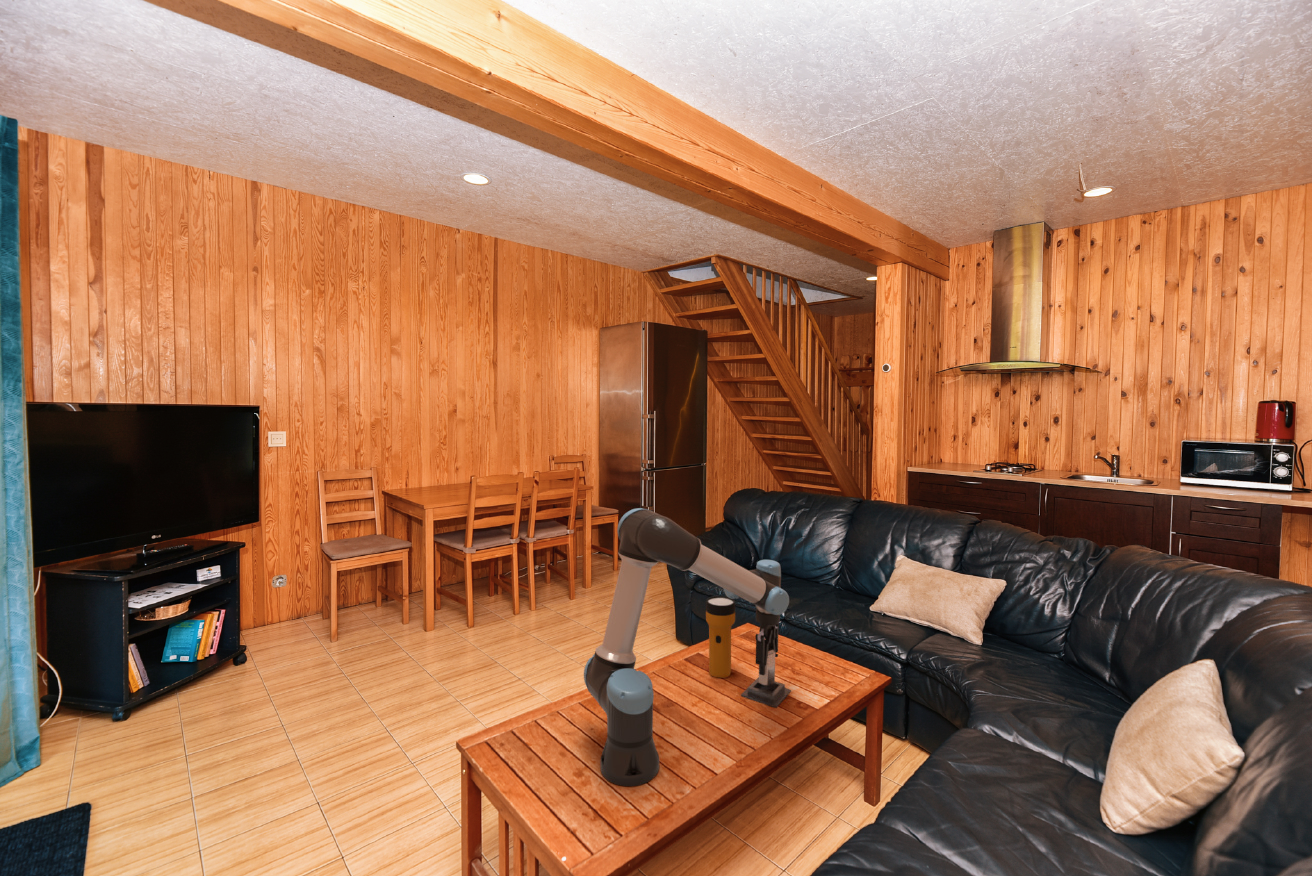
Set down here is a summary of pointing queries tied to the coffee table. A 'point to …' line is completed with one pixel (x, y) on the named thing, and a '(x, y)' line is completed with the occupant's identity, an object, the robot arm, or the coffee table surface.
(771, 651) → the piston
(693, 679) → the coffee table surface
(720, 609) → the flashlight
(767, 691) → the collar
